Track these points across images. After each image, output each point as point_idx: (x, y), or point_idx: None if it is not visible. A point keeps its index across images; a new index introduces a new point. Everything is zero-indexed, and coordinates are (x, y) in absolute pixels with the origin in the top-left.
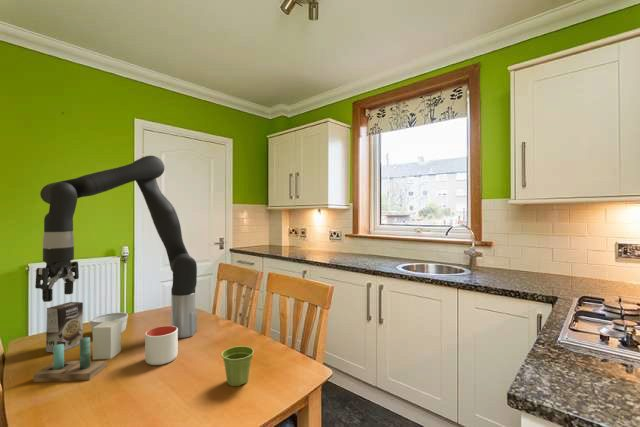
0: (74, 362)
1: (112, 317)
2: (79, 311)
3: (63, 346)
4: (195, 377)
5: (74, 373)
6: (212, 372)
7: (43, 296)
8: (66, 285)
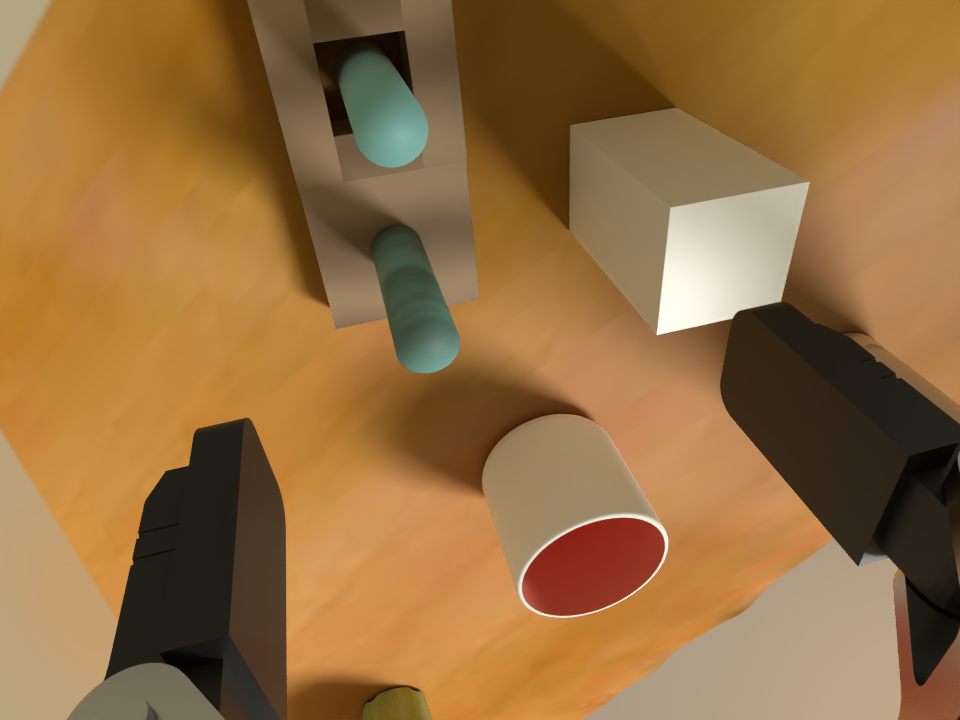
0: (439, 142)
1: None
2: None
3: (401, 161)
4: (404, 619)
5: (320, 251)
6: (441, 637)
7: (145, 558)
8: (846, 450)
